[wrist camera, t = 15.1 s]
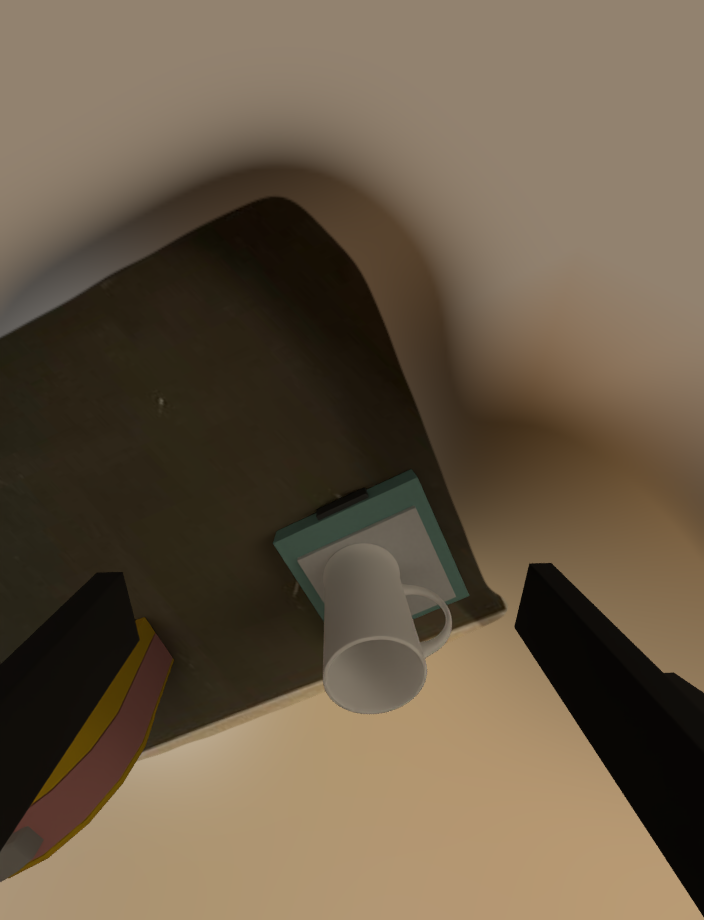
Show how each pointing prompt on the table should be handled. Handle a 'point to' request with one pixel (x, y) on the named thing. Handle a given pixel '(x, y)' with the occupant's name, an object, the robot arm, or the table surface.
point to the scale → (376, 541)
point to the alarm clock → (94, 758)
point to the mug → (373, 632)
